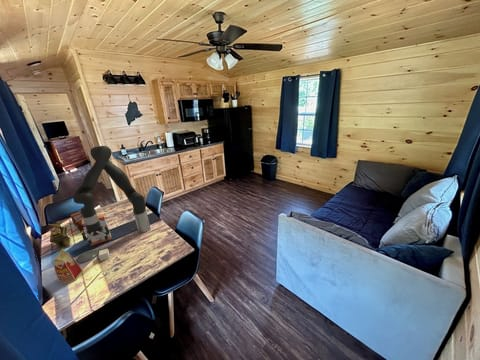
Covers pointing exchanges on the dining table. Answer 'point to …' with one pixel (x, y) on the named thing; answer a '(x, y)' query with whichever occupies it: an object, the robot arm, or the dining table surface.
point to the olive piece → (60, 237)
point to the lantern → (78, 220)
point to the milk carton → (66, 267)
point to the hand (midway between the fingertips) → (99, 241)
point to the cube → (104, 254)
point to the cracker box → (99, 238)
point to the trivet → (87, 256)
